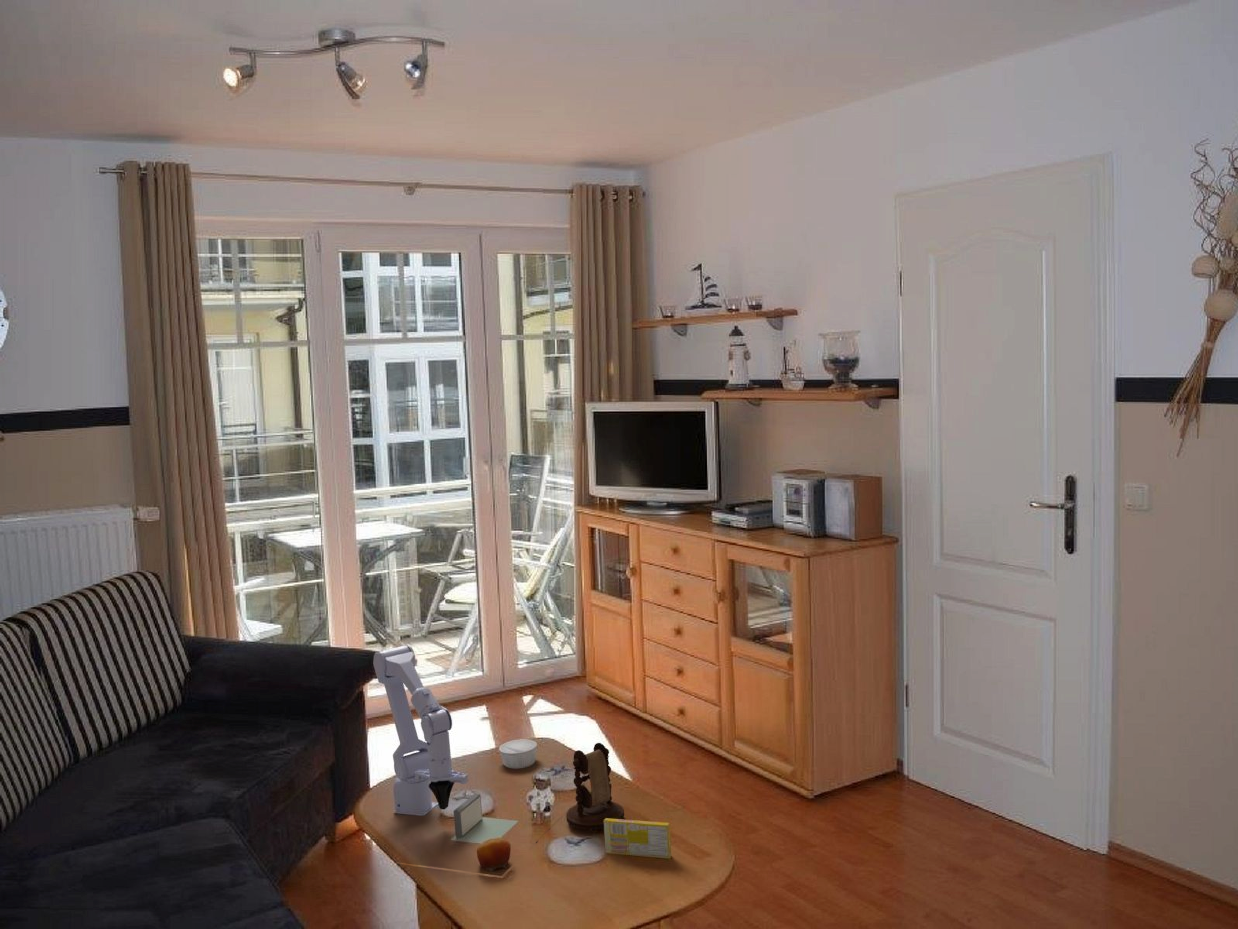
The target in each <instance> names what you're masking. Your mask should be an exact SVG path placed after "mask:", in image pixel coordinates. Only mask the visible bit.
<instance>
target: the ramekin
mask: <svg viewBox="0 0 1238 929" xmlns="http://www.w3.org/2000/svg"><path fill="white" fill-rule="evenodd" d="M537 749H538V743H537V742H536V741H534V740H532V739H526V738H525V739H524V738H520V739H513V740H509V741H506V742H505V743H503V744H501V745H500V746H499V748H498V752H499V754H500V757H501V760H502V764H503V766H505V767H506V768H508V769H515V770H516V769H517V770H518V769H519V770H520V769H525V768H528V767H531V766H532V765H534V764H535V762H536V760H537V759H536V758H537Z"/></svg>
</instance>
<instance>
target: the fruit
mask: <svg viewBox="0 0 1238 929" xmlns="http://www.w3.org/2000/svg"><path fill="white" fill-rule="evenodd" d="M476 856H477V859H478V863H479V865H480V866H481V867H482V868H483V869H484V870H485V871H489V872H491V873H492V872H494V870H497V869H498V868H505V869H507V868H508V867H507V865H508V863H509V860H510V857H511V843H510V842H509V841H508V840H507V839H506V838H503V837H501V838H494V839H489V840H486V841H484V842H483V843H482V844H479V846H478V847H477V849H476Z"/></svg>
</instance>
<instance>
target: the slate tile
mask: <svg viewBox="0 0 1238 929" xmlns="http://www.w3.org/2000/svg"><path fill="white" fill-rule="evenodd" d="M482 817H483V807H482V795H481V793H474V794H472V795H471V796H470V797H468V798H467V799H466V800H465V801H464V802H463V803H461V804H460V805H459V806H458V807H457V808H455V809H454V810H453V819H454V831H455V832H454V833H455V836H456V838H462V837H463V836H465V835H466V834H467V833H468V832H469V831H470V830H471V829H473V828H474V827H475V826H476V825H477V824H478V823H479V822H481V821H482V820H483V819H482Z"/></svg>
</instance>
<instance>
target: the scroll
mask: <svg viewBox="0 0 1238 929" xmlns="http://www.w3.org/2000/svg"><path fill="white" fill-rule="evenodd" d="M609 754H610V750H609V749H608V748H606V746H605V744H602V743H601V742H596V743H595V744H594V746H593V751H591V752H588V753H585V752H583V751H582V750H575V751H574V753H573V761H572V765H573V769H574V778H573V784H574V786H575V787H576V788H575V794H576V796H575V802H576V804H575V805H574V806H572V807H571V808H569V809H568V810H567V811H566V818H565V819H566V822H567V823H568V824H569V825H571V826H572V827H573V828H576V829H581V830H590V831H591V834H592V835H594V834H595V833H596V830H600V829H601V830H602V829H604V820H605V819H606V818H610V819H623V820H625V819H624V818H625V809H624V808H623V806H622V805H621V804H619V803H617V802H614V801H612V800H613V797H612V784H611V783H610V782H611V778H610V774H611V771H612V768H611V766H610V762H609ZM581 774H582V775H583V776H581ZM588 780H589V783H590V790H589V788H588V787H586V786H585V785H582V784H583V783H585V782H588Z"/></svg>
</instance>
